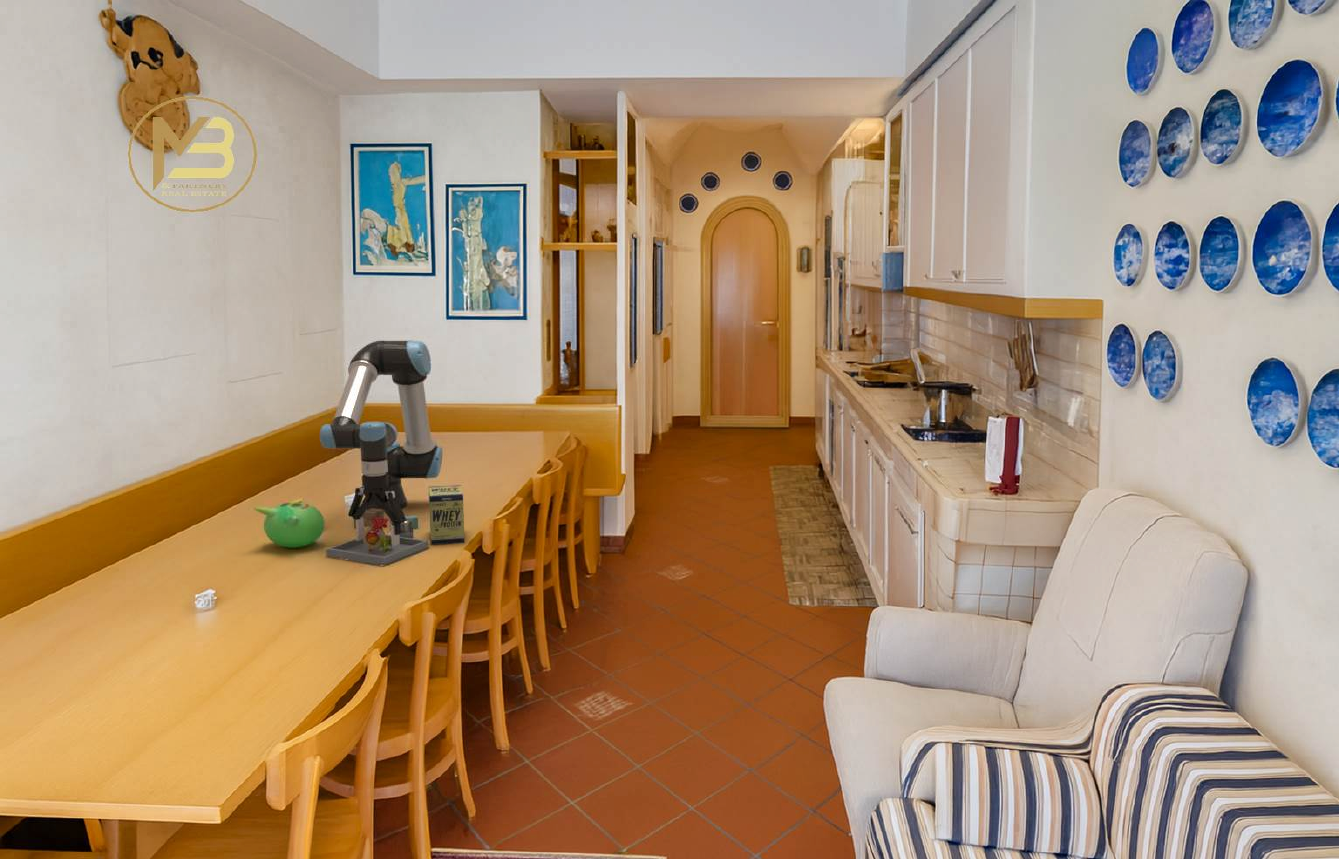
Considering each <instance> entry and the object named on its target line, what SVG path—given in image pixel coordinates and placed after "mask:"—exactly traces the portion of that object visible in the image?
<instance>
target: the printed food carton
mask: <svg viewBox="0 0 1339 859" xmlns="http://www.w3.org/2000/svg"><path fill="white" fill-rule="evenodd" d="M371 521H372V522H373V524H374V526H370V527H367V528H365V529H364V533H363V542H364V544H365V545H366V546H367V548H368V550H369V551H371V550H372V549H379V548H380V547H383V550H382V551H383V552H385V551H386V548H387V546H388V544H389V545H390V546H392V541H391V538H387V539H386V535H387V534H386V533H385V530H384V529H386V528H388V524H387V523H388V521H389V517H387V518H385V517H384V519H380V518H378V517H372V518H371ZM383 528H384V529H383ZM377 533H378V534H379V535H378V534H377ZM379 536H380V539H379ZM378 541H379V542H378ZM377 542H378V544H376V543H377Z"/></svg>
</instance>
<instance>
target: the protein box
mask: <svg viewBox="0 0 1339 859" xmlns="http://www.w3.org/2000/svg"><path fill="white" fill-rule="evenodd" d="M428 506H429V508H428V509H429V510H428V511H429V513H428V514H429V527H430V528H429V529H430V531H429V532H430V545H445V544H461V543H465V519H464V518H465V517H464V516H465V515H464V494H463V489H462V485H439V486H438V485H435V486H428Z"/></svg>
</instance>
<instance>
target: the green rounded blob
mask: <svg viewBox="0 0 1339 859" xmlns="http://www.w3.org/2000/svg"><path fill="white" fill-rule="evenodd" d="M303 500H304V499H303V497H302V498H301V497H300V498H296V499H294V500H292V501H289V502H284V503H281V504H278V505H277V506H275V507H267V506H266V507H265V506H255V507H254V508H253V509H254V510H255V511H256V512H258V513H260V514H263V515H265V518H264V521H263V530H264V533H265V535H266V536H267V538H268V539H269V540H270V541H271V542H272V543H273V544H276V545H277V546H280V547H283V548H284V547H285V548H288V549H291V548H293V549H295V548H303V547H306V546H309V545H312V544H313V543H314V542H316V541H317V540H319V538H320V537H321V536H322V535H323V532H324V530H325V519H324V515H323V514H322V512H320V510H319V509H318V508H317V507H315V506H314V505H312V504H310V503H307V502H303Z"/></svg>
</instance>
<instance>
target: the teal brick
mask: <svg viewBox="0 0 1339 859" xmlns="http://www.w3.org/2000/svg"><path fill="white" fill-rule="evenodd" d="M404 516H405V515H404ZM405 518H406V519H413V530H417V529H419V517H418V516H416V515H413V514H412V515H406V516H405ZM392 524H393V523H392V521H391V520H390V519H389V525H390V531H391V525H392Z"/></svg>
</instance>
